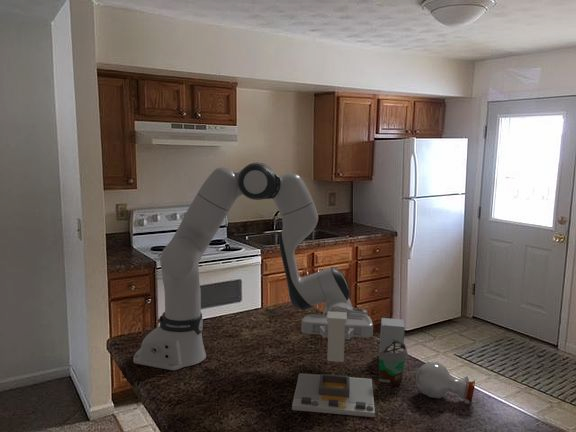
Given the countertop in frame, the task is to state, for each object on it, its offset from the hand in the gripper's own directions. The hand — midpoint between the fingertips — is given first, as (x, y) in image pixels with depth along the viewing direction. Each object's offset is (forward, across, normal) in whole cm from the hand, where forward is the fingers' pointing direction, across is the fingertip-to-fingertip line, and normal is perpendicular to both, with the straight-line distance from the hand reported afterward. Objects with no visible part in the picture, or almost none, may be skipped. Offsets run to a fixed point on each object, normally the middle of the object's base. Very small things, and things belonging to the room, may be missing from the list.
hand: (336, 336), depth 126 cm
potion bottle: (-3, +30, +17) cm, 34 cm away
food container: (-11, +17, +17) cm, 27 cm away
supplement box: (-25, +17, +17) cm, 35 cm away
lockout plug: (-1, 0, +6) cm, 7 cm away
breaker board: (+1, 0, +17) cm, 17 cm away
